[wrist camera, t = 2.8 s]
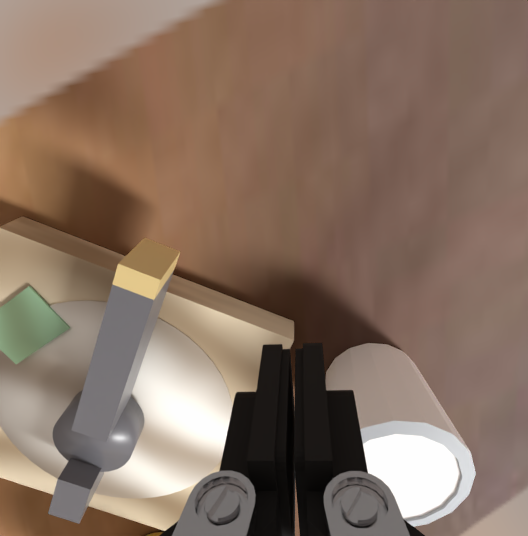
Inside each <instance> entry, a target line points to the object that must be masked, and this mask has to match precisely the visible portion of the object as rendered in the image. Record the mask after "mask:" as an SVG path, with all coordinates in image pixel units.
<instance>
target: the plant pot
mask: <svg viewBox="0 0 528 536" xmlns="http://www.w3.org/2000/svg"><path fill="white" fill-rule="evenodd" d="M162 533H163V532H156V533H152V534H148V535H146V536H159V535H160V534H162Z"/></svg>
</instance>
